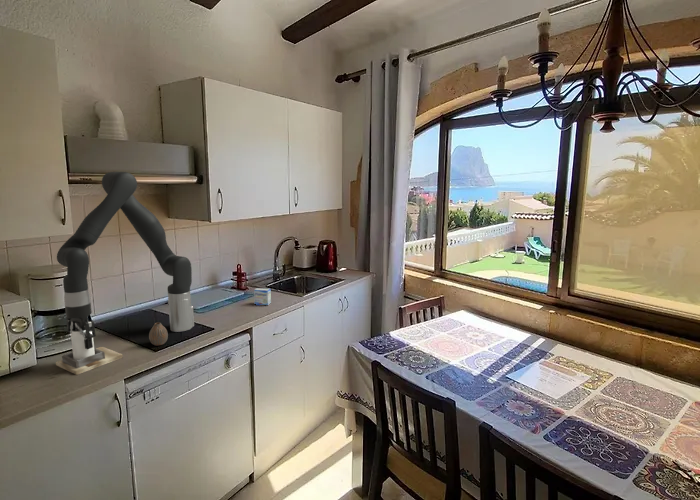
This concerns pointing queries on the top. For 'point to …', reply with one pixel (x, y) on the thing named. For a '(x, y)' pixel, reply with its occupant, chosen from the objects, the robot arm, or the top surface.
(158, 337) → the vase
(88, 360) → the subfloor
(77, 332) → the can
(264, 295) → the medicine box
